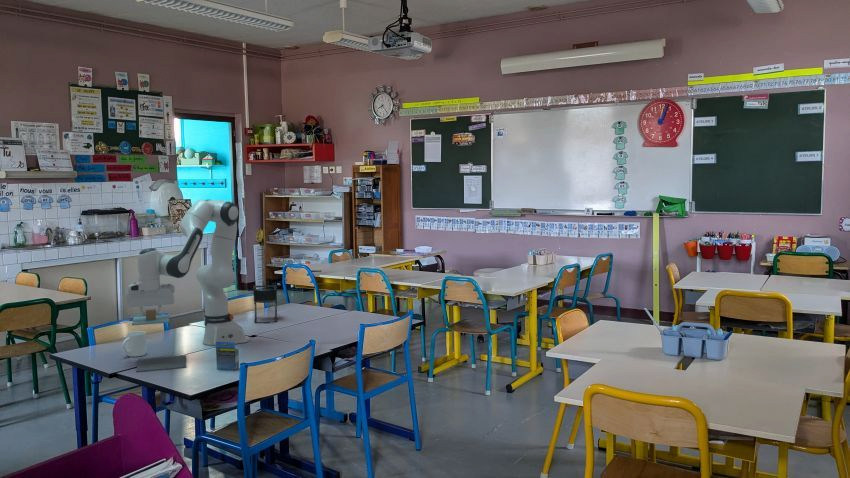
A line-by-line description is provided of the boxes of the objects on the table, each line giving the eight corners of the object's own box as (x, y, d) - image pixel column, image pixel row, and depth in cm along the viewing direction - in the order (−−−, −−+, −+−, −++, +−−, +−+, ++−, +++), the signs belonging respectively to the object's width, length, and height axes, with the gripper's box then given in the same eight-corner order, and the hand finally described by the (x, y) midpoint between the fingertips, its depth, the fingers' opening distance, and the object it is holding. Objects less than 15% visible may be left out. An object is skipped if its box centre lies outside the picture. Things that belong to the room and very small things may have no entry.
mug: (128, 359, 300) (127, 337, 299) (116, 357, 304) (115, 335, 303) (150, 353, 311) (149, 332, 310) (138, 351, 315) (137, 330, 314)
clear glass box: (254, 324, 375) (253, 285, 374) (254, 318, 392) (253, 281, 390) (277, 323, 378) (276, 285, 376) (277, 317, 395) (276, 280, 393)
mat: (186, 356, 306) (186, 355, 306) (186, 367, 287) (186, 366, 287) (139, 360, 299) (139, 359, 299) (136, 372, 280) (136, 371, 280)
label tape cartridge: (239, 368, 287) (238, 340, 286) (235, 370, 283) (234, 342, 282) (220, 367, 288) (219, 339, 287) (216, 369, 284) (215, 341, 283)
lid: (169, 316, 306) (168, 306, 306) (168, 322, 292) (168, 312, 292) (133, 318, 301) (133, 308, 300) (131, 325, 287) (131, 314, 287)
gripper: (174, 282, 302) (175, 312, 303) (125, 285, 295) (126, 315, 296) (174, 284, 296) (175, 314, 297) (124, 287, 289) (125, 318, 290)
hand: (150, 315), depth 296 cm, fingers closed on lid, 4 cm apart
